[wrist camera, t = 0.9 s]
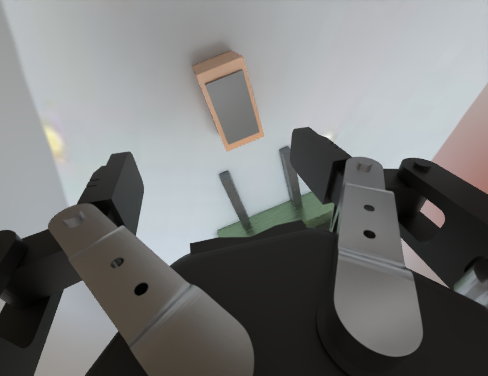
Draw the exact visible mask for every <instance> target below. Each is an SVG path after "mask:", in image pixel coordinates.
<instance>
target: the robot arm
mask: <svg viewBox="0 0 488 376" xmlns="http://www.w3.org/2000/svg"><path fill="white" fill-rule="evenodd" d="M290 162H291V165H292V167H293V168H294V170H295V171H296V172H297V173H298V175H299V176H300V177H301V178H302V180H303V181H304V182H305V183H306V185H307V186H308V187H309V188H310V190H311V191H312V192H313V193H314V195H315V196H316V197H317V198H318V200H319V201H320V202H321V203H322V205H325V204H330V203H334V208H333V212H332V218H331V224H330V230H329V231H327V230H324V229H319V228H310V227H306V225H305V223H304V222H303V220H298V221H293V222H288V223H284V224H279V225H275V226H273V227H271V228H269V229H267V230H265V231H262V232H260V233H258V234H256V235H254V236H251V237H218V238H214V239H209V240H204V241H200V242H195V243H190V252H191V253H189V254H187V255H185V256H183V257H182V258H180V259H178V260H177V261H176V262H174V263H173V264H172V265H170V266H169V265H167V264H166V263H165V262H164V261H163V260H162V259H161V258H160V257H158V256H157V255H156V254H155V253H154V252H153V251H152V250H151V249H149V248H148V247H147V246H146V245H145V244H144V243H143V242H142V241H140V240H139V239H138V238H137V237H136V232H137V226H138V221H139V215H140V210H141V205H142V199H143V194H144V186H143V181H142V178H141V176H140V173H139V171H138V168H137V165H136V163H135V160H134V158H133V155H132V154H131V152H123V153H115V154H111V156H110V158H109V160H108V163H107V165H106V166H101V167H100V168H99V169H98V170H97V171H95V172H94V173H93V175H92V177H91V179H90V182H88V184H87V186H86V187H87V188H85V190H84V192H83V193H82V195H81V197H80V199H79V201H78V203H77V205H74V206H71V207H68V208H66V209H64V210H62V211H61V212H59V213H58V214H56V215H55V216H54V217H53V218H52V219H51V220H50V222H49V224H48V229H47V230H45V231H42V232H39V233H36V234H33V235H31V236H28V237H25V238H23V239H21V238H20V237H19V236H18V235H17V234H16V233H15V232H13V231H11V230H2V231H0V298H1V299H2V300H4V301H5V302H6V303H5V305H4V307H3V309H2V311H1V313H0V376H34V373H35V370H36V367H37V364H38V362H39V359H40V356H41V353H42V350H43V347H44V344H45V342H46V339H47V336H48V333H49V330H50V327H51V324H52V322H53V319H54V316H55V313H56V310H57V307H58V304H59V302H60V299H61V296H62V293H63V290H64V289H65V288H67V287H69V286H71V285H74V284H76V283H78V282H80V281H82V280H83V281H84V283H85V284H86V286H87V287H88V288H89V290H90V291H91V293H92V294H93V295H94V297H95V298H96V300H97V301H98V303H99V304H100V305H101V307H102V308H103V310H104V311H105V312H106V314H107V315H108V317H109V318H110V320H111V321H112V322H113V324H114V325H115V327H116V328H117V329H118V332H117V333H116V335H115V336H114V338H113V339H112V340H111V341H110V343H109V344H108V345H107V347H106V348H105V349H104V351H103V352H102V353H101V355H100V356H99V357H98V359H97V360H96V361H95V363H94V364H93V365H92V367H91V368H90V369H89V371H88V372H87V373H86V375H85V376H488V194H486V193H485V192H483V191H481V190H479V189H478V188H476V187H474V186H473V185H471V184H469V183H467V182H466V181H464V180H462V179H461V178H459V177H457V176H456V175H454V174H452V173H450V172H449V171H447V170H445V169H444V168H442V167H440V166H439V165H437V164H435V163H433V162H431V161H428V160H425V159H420V158H407V159H404V160H403V161H402V162H401V165H400V167H399V169H383V167H382V165H381V164H380V163H379V162H377V161H375V160H373V159H370V158H365V157H351V156H350V155H349V154H348V153H346V152H345V151H344V150H342V149H341V148H339V147H338V146H337V145H336V144H334V143H333V142H332V141H331V140H329V139H328V138H326V137H323V136H321V135H319V134H317V133H316V132H315V131H313V130H312V129H311V128H310V127H305V128H297V129H294V130H293V132H292V140H291V150H290ZM427 199H428V200H429V201H430V202H432V203H433V204H434V205H436V206H437V207H438V208H439V209H440V210H442V212H443V213H444V215H445V222H444V224H443V225H442V227H441V228H439V227H438V226H437V225H436V224H434V223H433V222H432V221H431V220H430V219H428V218H427V217H426V216H425V215H424V214H423V213H421V212H420V210H421V208H422V206H423V205H424V203H425V201H426V200H427ZM401 238H402V239H403V240H404V241H405V242H406V243H407V244H408V245H409V246H410V247H411V248H412V249H413V250H414V251H415V253H416V254H417V255H418V256H419V257H420V258H421V259H422V260H423V261H424V262H425V263H426V264H427V265H428V266H429V267H430V268H431V269H432V270H433V271H434V272H435V273H436V274H437V275H438V277H440V279H441V280H442V281H443V282H444V283H445V284H446V285H447V286H448V287H449V288H450V289H449V288H447V287H445V286H443V285H441V284H439V283H437V282H435V281H433V280H431V279H429V278H427V277H425V276H423V275H421V274H419V273H416V272H414V271H412V270H410V269H408V268H406V266H405V263H404V257H403V252H402V244H401Z"/></svg>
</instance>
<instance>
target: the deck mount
mask: <svg viewBox="0 0 488 376" xmlns="http://www.w3.org/2000/svg"><path fill="white" fill-rule="evenodd" d="M290 150H291V149H290V148H289V147H288V146H287V147H285V148H282V149H280V150H279V151H280V155H281V160H282V164H283V169H284V173H285V177H286V182H287V186H288V191H289V195H290V199H291V201H288V202H286V203H283V204H281V205H279V206H276V207H274V208H271V209H269V210H266V211H264V212H262V213H259V214H257V215H254V216H252V217H249V218H248V216H247V214H246V211H245V209H244V207H243V205H242V202H241V200H240V198H239V195H238V193H237V191H236V188H235V186H234V184H233V181H232V179H231V177H230V174H229V172H228V171H226V172H223V173H221V174H219V175H220V178H221V181H222V183H223V186H224V188H225V190H226V192H227V194H228V196H229V198H230V200H231V202H232V205H233V207H234V209H235V211H236V213H237V215H238V217H239V219H240V222H237V223H235V224H232V225H230V226H227V227H225V228H223V229H220V230H218V235H219V237H251V236H254V235H256V234H258V233H260V232H262V231H265V230H267V229H269V228H271V227H273V226H275V225H279V224H284V223H288V222H293V221H298V220H303V222H304V223H305V225H306V227H310V228H319V229H324V230H327V231H328V230H330V224H331V218H332V212H333V208H334V203H330V204H325V205H322V203H321V202H320V201H319V200H318V198H317V197H316V196H315V195H314V193H313V192H310V193H308V194H305V195H303V196H301V194H300V188H299V183H298V177H297V172H296V171H295V170H294V168H293V167H292V165H291V162H290Z"/></svg>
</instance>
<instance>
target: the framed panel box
mask: <svg viewBox="0 0 488 376" xmlns="http://www.w3.org/2000/svg"><path fill="white" fill-rule="evenodd" d="M192 67H193V70H194V72H195V75H196V77H197V80H198V82H199V85H200V87H201V90H202V92H203V95H204V97H205V99H206V102H207V104H208V107H209V109H210V112H211V114H212V117H213V119H214V122H215V124H216V127H217V129H218V132H219V134H220V136H221V139H222V141H223V144H224V146H225V148H226V151H229V150H232V149H234V148H237V147H239V146H241V145H244V144H246V143H249V142H251V141H254V140H256V139H259V138H261V137H264V133H263V129H262V126H261V122H260V118H259V114H258V110H257V107H256V103H255V99H254V95H253V91H252V88H251V84H250V80H249V76H248V72H247V69H246V65H245V61H244V57H243V56H241V55H239V54H237V53H235V52H233V51H229V52H226V53H224V54H221V55H219V56H216V57H214V58H211V59H209V60H206V61H204V62H201V63H199V64H196V65H194V66H192Z"/></svg>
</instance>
